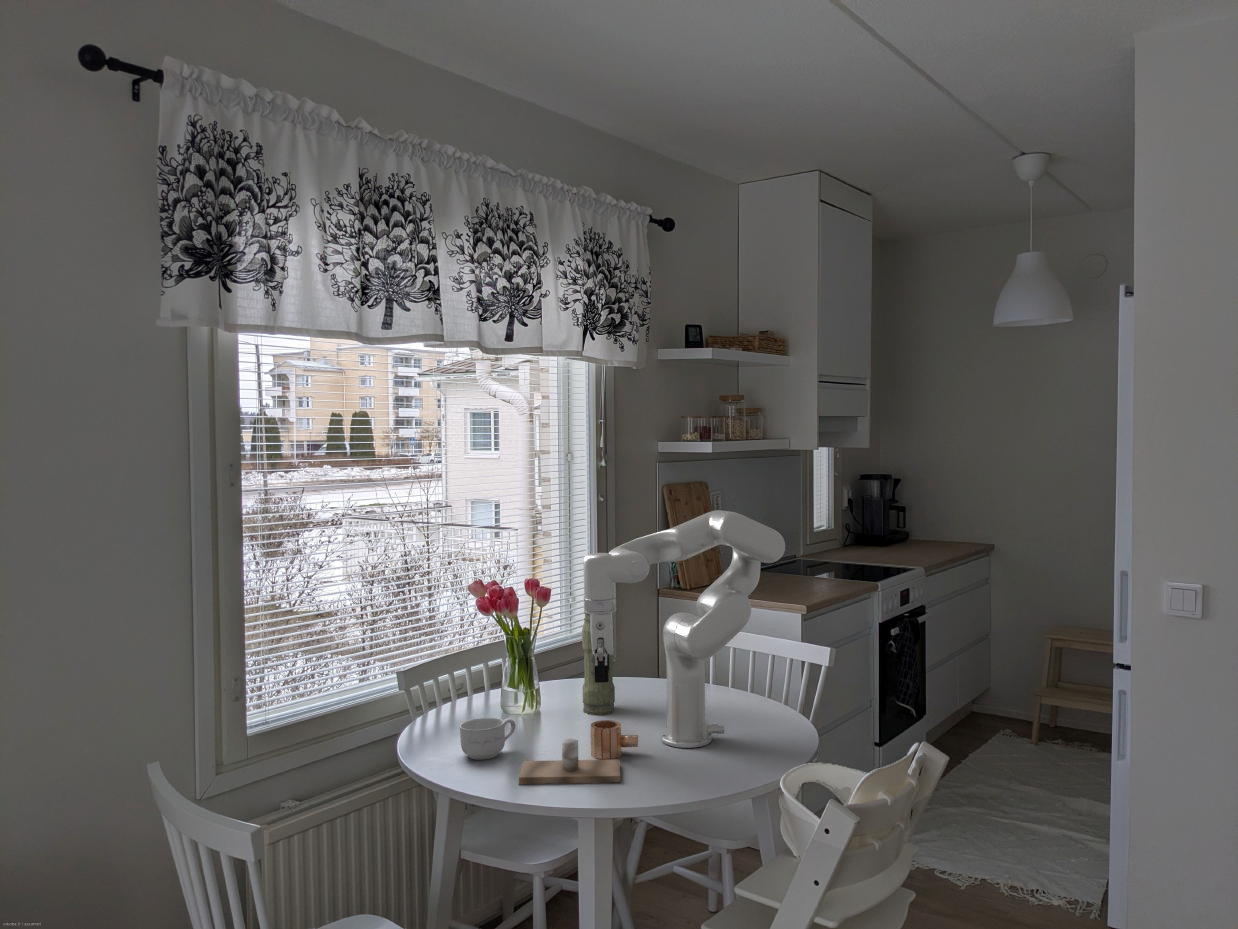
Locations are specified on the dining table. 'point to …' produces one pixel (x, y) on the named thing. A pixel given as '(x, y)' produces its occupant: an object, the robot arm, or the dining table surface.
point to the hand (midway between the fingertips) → (602, 676)
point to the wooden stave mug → (609, 739)
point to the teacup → (484, 737)
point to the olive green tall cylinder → (594, 694)
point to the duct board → (570, 777)
